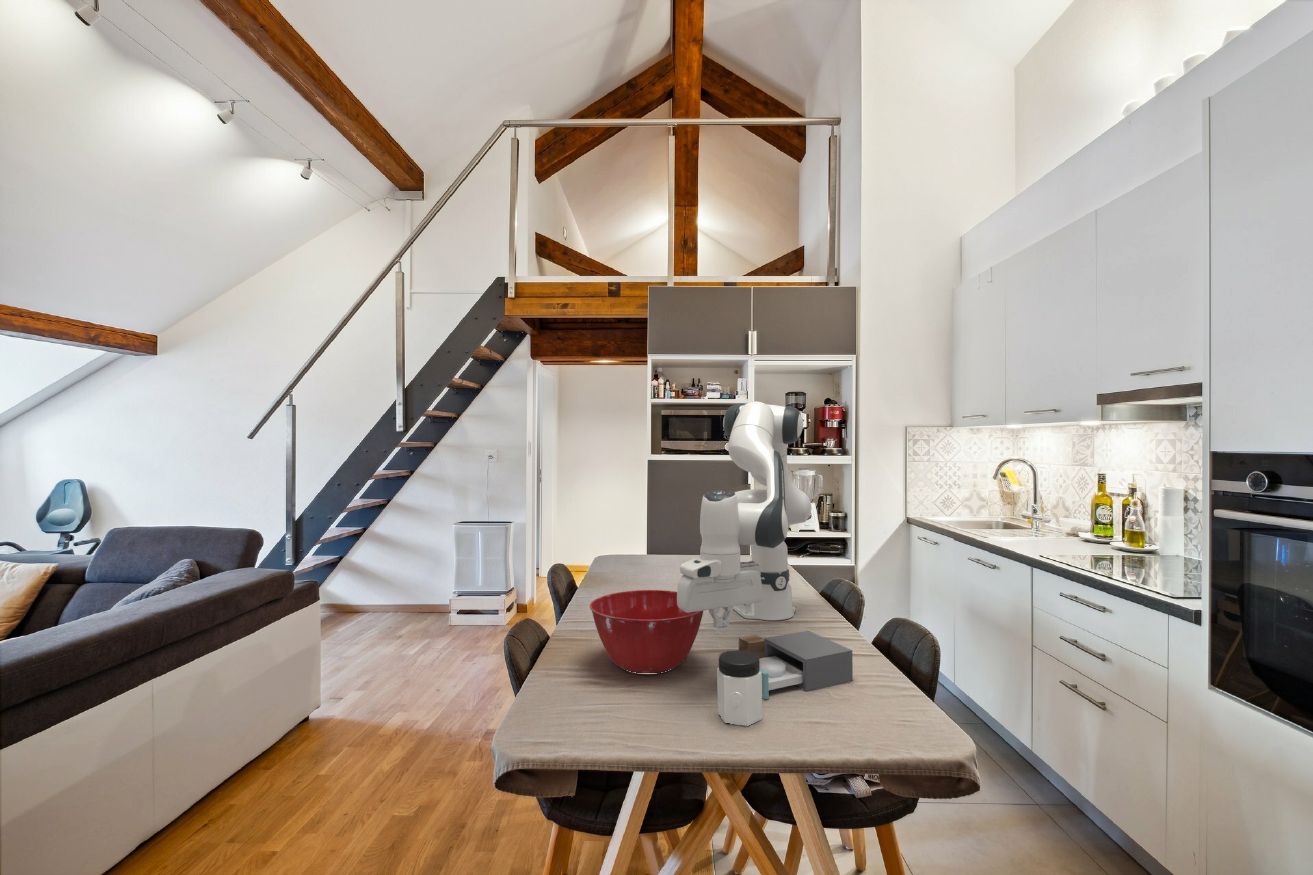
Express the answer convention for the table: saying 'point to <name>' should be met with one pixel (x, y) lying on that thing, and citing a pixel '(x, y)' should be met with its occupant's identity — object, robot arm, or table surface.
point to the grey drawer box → (812, 658)
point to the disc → (773, 667)
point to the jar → (739, 687)
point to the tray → (780, 678)
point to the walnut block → (752, 645)
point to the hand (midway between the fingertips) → (721, 626)
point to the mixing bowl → (645, 629)
